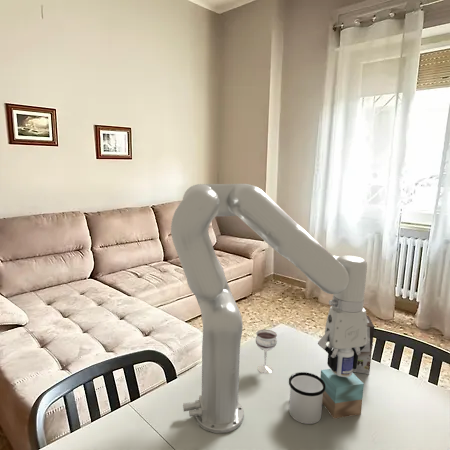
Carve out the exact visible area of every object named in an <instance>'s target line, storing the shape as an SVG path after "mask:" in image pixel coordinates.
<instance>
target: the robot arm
mask: <svg viewBox="0 0 450 450" xmlns="http://www.w3.org/2000/svg"><path fill="white" fill-rule="evenodd" d="M234 216H235V217H236V216H237V217H238V218H239V219H240V221H242V222H243V223H244V224H245V225H247V227H249V228H250V229H251V230H252V231H253V232H254V233H256V234H257V236H259V237H260V238H261V239H262V240H263V241H264V242H265V243H267V245H268V246H269V247H271V248H272V249H273V250H274V251H275V252H277V253H278V254H279V255H280V256H282V257H283V258H284V259H286V260H288V262H290V263H291V264H293V265H294V266H295V267H296V268H297V269H299V270H300V271H301V272H302V273H303V274H304V276H305V277H306V278H307V279H308V280H309V281H311V283H313V284H314V285H315V286H317V287H318V288H319V289H320V290H322V292H324V293H326V294H328V295H332V299H329V301H328V304H329V306H330V307H329V310H328V314H327V316H326V321H325V322H326V323H325V328H324V329H325V330H324V335H323V336H322V337H321V338H320V339H319V340H318V342H317V345H318V346H319V347H320V348H321V349H322V350H323V351H325V352H326V353H327V366H328V367H329V369H332V371H333V372H335V371H336V369H337V357H336V354H337V351H338V349H346V348H351V349H352V350H353V352H354V358H353V369H356V368H357V361H358V355H360V353H361V350H362V349H363V348H364V347H365V345H367V344H368V343H369V342H370V339H369V337H368V336H367V316H368V315H367V311H366V309H365V308H364V302H365V290H366V284H367V283H366V282H367V273H368V262H367V261H366V259H364V258H363V257H360V256H357V255H349V254H347V255H340V256H338V255H332V254H331V253H330V252H329V251H328V250H327V249H326V248H325V247H324V246H323V245H321V244H320V243H319V242H318V241H317V240H316V239H315V238H314V237H312V236H311V234H309V232H307V231H306V230H305V229H304V228H303V227H302V226H301V225H300V224H299V223H298V222H297V221H295V220H294V219H293V218H292V217H291V216H290V215H289V214H288V213H287V212H286V211H285V210H284V209H283V208H281V207H280V205H279V204H277V202H275V201H274V200H273V199H272V198H271V197H270V196H269V195H268V194H267V193H266V192H265V191H264V190H263V189H261V188H259V187H258V186H256V185H253V184H249V183H198V184H193V185H191V186H190V187H188V188H187V190H186V191H184V194H183V196H182V200H181V201H180V202H179V204H178V206H177V208H176V209H175V211H174V213H173V216H172V219H171V223H170V225H171V226H170V234H171V240H172V243H173V245H174V248H175V251H176V254H177V256H178V259H179V262H180V265H181V267H182V270H183V273H184V275H185V279H186V283H187V285H188V288H189V289H190V292H191V293H192V294H193V295H194V297H195V299H196V301H197V303H198V306H199V309H200V313H201V322H202V342H201V343H202V344H201V347H202V348H201V395H199V396H198V399H196V400H194V401H193V402H183V403H182V404H183V405H182V408H183V409H182V411H183V412H188V413H189V414H188V415H189V417H195V421H196V423H197V424H198V425H199V427H201V428H202V429H204V430H206V431H208V432H210V433H215V434H224V433H225V434H226V433H229V432H232V431H234V430H236V429H238V428H239V427H240V426H241V425H242V423H243V421H244V416H245V415H244V414H245V412H244V407H242V405H241V404H240V403H239V389H240V388H239V387H240V385H239V384H240V356H241V354H240V353H241V340H242V336H243V335H242V334H243V327H244V325H243V318H242V317H243V316H242V314H241V311H240V308H239V307H238V305H237V303H236V301H235V298H234V295H233V294H232V291H231V288H230V285H229V284H228V280H227V278H226V274H225V270H224V268H223V266H222V263H221V262H220V260H219V259H218V257H217V254H216V251H215V249H214V246H213V242H212V240H211V237H210V234H209V228H210V225H211V223H212V221H213V220H214V219H215V218H216V217H234ZM327 343H328V345H327Z"/></svg>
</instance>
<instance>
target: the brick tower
mask: <svg viewBox="0 0 450 450" xmlns="http://www.w3.org/2000/svg"><path fill="white" fill-rule="evenodd" d="M319 377H320V378H321V379H322V380H323V381H324V382H325V385H326V389H325V391H324V393H323V399H322V406H323V407H325V409H326V410H327V412H328V413H329V415H330V416H331V417H332V419H340V418H347V417H353V416H360V415H361V414H362V408H363V407H362V406H363V397H364V387H365V383H364V382H363V381H362V380H360V378H359V377H358V376H357V375H356V374H355V373H354V372H352V375H351V376H349V377H340V376H338V375H336V374H334V373H333V371H332V369H331V368H326V369H321V370H320V376H319Z"/></svg>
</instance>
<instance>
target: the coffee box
mask: <svg viewBox="0 0 450 450" xmlns="http://www.w3.org/2000/svg"><path fill="white" fill-rule="evenodd" d="M366 316H367V336H368V337H369V339H370V342H369V343H368V344H367V345H365V347H364V348H363V349H362V350H361V353H360V355H358V361H357V368H356V369H353V370H352V373H360V374H366V375H369V374H370V371H371V362H372V351H373V344H374V343H373V342H374V333H375V325H374V323H373V322H372V320H371V318H370V316H369V315H366Z"/></svg>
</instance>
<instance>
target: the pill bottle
mask: <svg viewBox="0 0 450 450" xmlns="http://www.w3.org/2000/svg"><path fill="white" fill-rule="evenodd" d="M336 357H337V369H336V371H335V372H333V373H334V374H336V375H338V376H340V377H349V376H351V375H352V373H353V372H352V370H353V358H354V352H353V350H352V349H351V348H346V349H338V351H337V354H336Z"/></svg>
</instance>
